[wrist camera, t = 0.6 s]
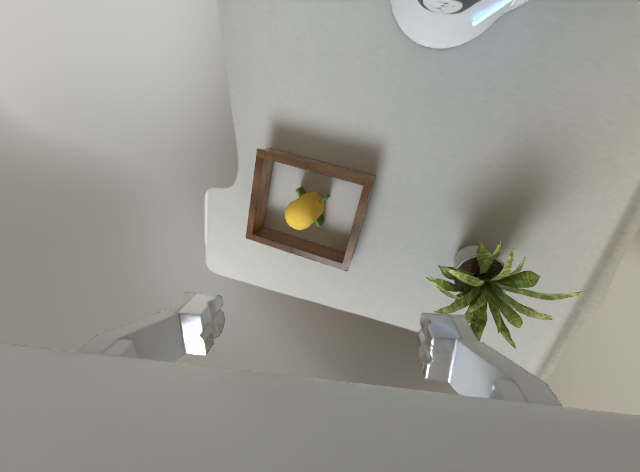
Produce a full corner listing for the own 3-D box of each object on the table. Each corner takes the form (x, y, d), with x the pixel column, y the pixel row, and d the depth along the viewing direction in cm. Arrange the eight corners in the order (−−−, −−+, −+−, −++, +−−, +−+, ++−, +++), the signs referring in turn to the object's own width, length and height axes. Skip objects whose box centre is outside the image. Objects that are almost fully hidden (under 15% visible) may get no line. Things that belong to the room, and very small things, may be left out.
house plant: (506, 191, 42) (558, 225, 27) (550, 272, 44) (621, 345, 29) (412, 237, 48) (413, 287, 33) (455, 307, 50) (473, 384, 35)
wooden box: (270, 146, 49) (257, 148, 45) (376, 175, 46) (373, 180, 42) (258, 229, 55) (245, 238, 51) (352, 260, 52) (347, 271, 48)
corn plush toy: (300, 185, 50) (280, 196, 42) (330, 194, 49) (315, 206, 42) (295, 214, 52) (275, 230, 44) (323, 223, 51) (308, 240, 44)
